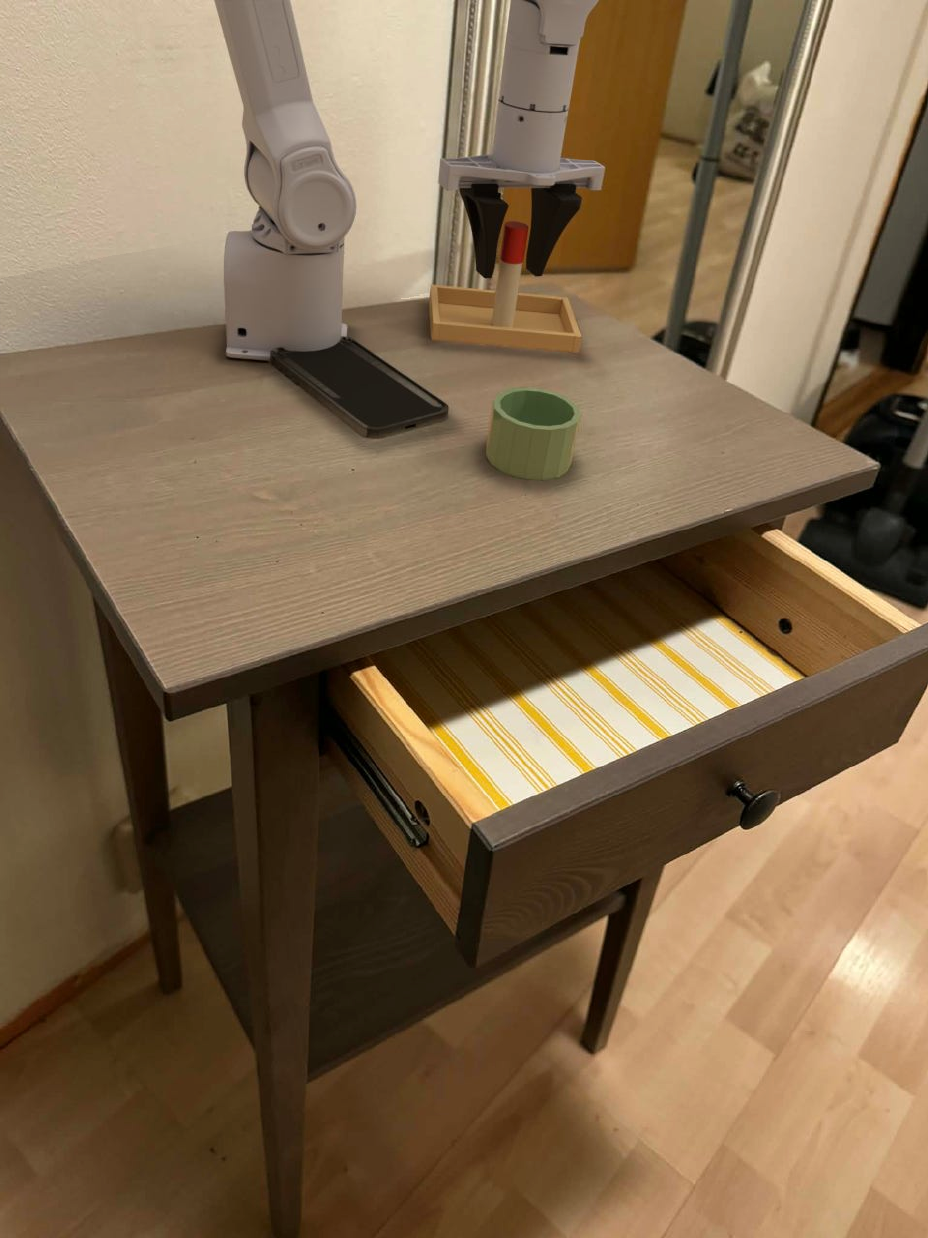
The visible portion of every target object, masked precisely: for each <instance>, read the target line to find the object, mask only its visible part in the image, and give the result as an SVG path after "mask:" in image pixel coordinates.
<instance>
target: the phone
mask: <svg viewBox="0 0 928 1238" xmlns="http://www.w3.org/2000/svg"><path fill="white" fill-rule="evenodd" d="M269 360H270V364H271V366H273V367H274V368H276V369H277V370H278V371H279V372H281V373H282V374H284V376H286V377H287V378H288V379H290V380H291V381H292V382H294V383H295V384H296V386H299V387H300V388H301V389H302V390H304V391H305V392H306V393H307V394H309V395H310V396H311V397H313V398H314V400H317V401H318V402H319V403H320V405H323V406H324V407H325V408H326V409H328V411H330V412H331V413H333V414H334V415H335V416H337V417H338V418H339V419H341V420H342V421H343V422H344V423H345V424H347V425H348V426H349V427H350V428H352V429H353V430H354V431H355V432H357V433H358V434H359V435H361V436H362V437H364V438H367V439H371V440H372V439H373V440H380V439H385V438H388V437H392V436H395V435H399V434H403V433H406V432H410V431H413V430H417V429H420V428H424V427H428V426H432V425H436V424H440V423H442V422H443V423H444V422H445V421H446V420H447V419H448V418H449V410H450V409H449V405H448V404H447V403H446V402H444V401H443V400H442V399H440V398H439V397H437V396H436V395H435V394H433V393H432V392H431V391H429V390H428V389H426V388H424V387H423V386H422V385H420V384H419V383H417V382H416V381H415V380H413V379H411V378H410V377H409V376H407V375H406V374H404V373H403V372H401V371H400V370H399V369H397V368H395V367H394V366H393V365H391V364H390V363H388V362H387V361H385V360H384V359H383V358H381V357H380V356H378V355H377V354H375V353H374V352H372V351H371V350H370V349H368V348H367V347H365V346H364V345H362V344H361V343H359V341H356V340H355V339H354V338H352V337H349V336H347V337H344V336H341V338H340V341H339V342H338V343H337V344H335V345H334V346H332V347H329V348H327V349H323V350H317V351H305V352H303V351H289V350H285V348H282V347H279V348H275V349H273V350H271V352H270V358H269ZM413 425H414V426H413ZM409 426H411V427H409ZM406 427H408V428H406Z"/></svg>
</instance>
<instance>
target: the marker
mask: <svg viewBox="0 0 928 1238" xmlns="http://www.w3.org/2000/svg"><path fill="white" fill-rule="evenodd" d="M503 224H504V225H503V231H502V239H501V246H500V254H499V264H498V265H499V266H498V273H497V280H496V287H495V291H496V294H495V301H494V308H493V315H492V323H491V324H492V326H498V327H509V328H512V327H513V322H514V315H515V309H516V302H517V296H518V293H519V290H520V289H519V288H520V283H521V275H522V268H523V263H524V259H525V253H526V248H527V247H526V246H527V241H528V234H529V225H528V224H526V223H524V222H521V221H515V220H511V221H510V220H509V221H505V222H504V223H503Z"/></svg>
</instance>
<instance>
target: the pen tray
mask: <svg viewBox="0 0 928 1238" xmlns="http://www.w3.org/2000/svg"><path fill="white" fill-rule="evenodd" d="M429 288H430V289H429V301H428V312H429V330H430V338H431V341H435V342H437V341H438V342H449V343H459V344H460V343H461V344H471V345H483V346H493V347H494V346H495V347H504V348H518V349H528V350H539V351H550V352H562V353H573V354H574V353H575V354H579V351H580V347H581V342H582V334H581V331H580V328H579V326H578V322H577V320H576V317H575V314H574V312H573V311H574V310H573V309H572V305H571V303H570V300H569V298H568V297H566V296H556V295H545V294H535V293H524V292H518V296H517V302H516V309H515V315H514V322H513V327H512V328H509V327H498V326H492V324H491V323H492V315H493V308H494V301H495V294H496V290H493V289H492V290H491V289H484V288H483V289H481V288H473V287H472V288H470V287H461V286H449V285H441V284H430V287H429Z"/></svg>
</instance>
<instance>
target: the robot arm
mask: <svg viewBox="0 0 928 1238" xmlns="http://www.w3.org/2000/svg"><path fill="white" fill-rule="evenodd" d="M213 1H214V4H215V8H216V9H215V10H216V12H217V16H218V19H219V23H220V26H221V30H222V33H223V38H224V40H225V44H226V49H227V51H228V55H229V59H230V63H231V66H232V70H233V73H234V77H235V81H236V84H237V88H238V92H239V94H240V100H241V103H242V106H243V111H242V117H241V118H242V119H241V128H242V131H243V135H244V138H245V144H246V154H245V159H244V167H243V176H244V183H245V186H246V189H247V191H248V193H249V195H250V196H251V198H252V200H253V201H254V202H255V203H256V204H257V206H258V211H257V212H256V214H255V216H254V219H253V223H252V224H251V230H231V231H228V232H227V235H226V238H225V244H224V253H223V289H224V291H223V293H224V308H225V309H224V317H225V331H226V332H225V333H226V349H225V355H226V357H228V358H232V359H245V360H255V361H256V360H257V361H269V360H270V352H271V350H273V349H275V348H279V347H282V348H285V350H289V351H303V352H305V351H317V350H323V349H327V348H329V347H332V346H334V345H335V344H337V343H338V342H339V341H340V338H341V336H344V337H348V336H347V335H348V329H349V328H348V324H346V323H343V298H344V297H343V296H344V271H345V269H344V268H345V265H344V263H345V240H346V239H345V237H346V236H347V235H348V233H349V232H350V230H351V229H352V226H353V224H354V222H355V219H356V215H357V198H356V193H355V190H354V188H353V185H352V183H351V181H350V179H349V178H348V177H347V176H346V174H345V173H344V172H343V171H342V169H341V168H340V167H339V165H338V163H337V160H336V159H335V155H334V152H333V147H332V143H331V139H330V137H329V134H328V132H327V130H326V128H325V125H324V124H323V121H322V119H321V116H320V114H319V112H318V110H317V108H316V105H315V103H314V99H313V95H312V91H311V87H310V82H309V77H308V72H307V68H306V64H305V60H304V55H303V50H302V47H301V41H300V38H299V33H298V29H297V28H298V27H297V25H296V19H295V16H294V11H293V7H292V1H291V0H213ZM598 2H600V0H510V1H509V9H508V10H509V11H508V18H507V27H506V33H505V41H504V48H503V57H502V65H501V74H500V83H499V91H498V98H497V106H496V114H495V123H494V131H493V137H492V138H493V139H492V145H491V146H492V147H491V153H489V154H481V155H472V156H463V157H452V158H451V157H449V158H440V159H439V169H438V177H437V178H438V179H437V184H439V186H440V187H442V188H443V189H444V190H445V191H447V192H448V191H449V192H450V191H451V192H452V191H454V192H455V191H456V192H457V191H459V194H460V197H461V200H462V203H463V206H464V208H465V211H466V215H467V218H468V221H469V225H470V230H471V231H470V232H471V236H472V241H473V250H474V259H475V272H477V273H478V274H479V275H480V276H481V277H482V278H483V279H493V275H494V272H495V268H496V260H497V252H498V244H499V240H500V239H499V238H500V234H501V231H502V227H503V224H504V220H505V218H506V214H507V212H508V209H509V203H508V202H506V201H505V200H504V199H502V192H499V189H530V193H531V194H530V195H531V208H530V209H531V212H530V227H529V228H530V229H529V236H528V242H527V247H526V255H525V257H526V258H525V269H526V270H527V271H528V272H529V273H530V274H532V275H533V276H534V277H536V278H537V277H543V275H544V272H545V269H546V266H547V264H548V261H549V259H550V257H551V254H552V253H553V251H554V248H555V246H556V244H557V242H558V240H559V239H560V237H561V235H562V233H563V232H564V231H565V229H566V227H567V226H568V225H569V223H570V222H571V221H572V219H573V218H574V217H575V216H576V215H577V213H578V212H579V211H580V210H581V205H582V202H583V201H582V200H583V197H582V196H581V195H580V194H578V193H576V192H577V189H588V190H589V191H594V192H595V191H599V192H600V191H602V187H603V183H604V176H605V171H606V166H604V165H603V164H602V163H599V162H598V161H596V160H590V159H589V160H586V159H574V158H565V157H561V156H562V151H563V147H564V146H563V145H564V139H565V132H566V129H567V127H566V126H567V121H568V116H569V111H570V110H569V109H570V104H571V97H572V91H573V86H574V80H575V74H576V68H577V64H578V63H577V62H578V56H579V52H580V51H579V49H580V44H581V38H583V37H584V32H585V25H586V22H587V18H588V16H589V15H590V13H591V11H592V10H593V9H594V8H595V7H596V5H597V4H598Z"/></svg>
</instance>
